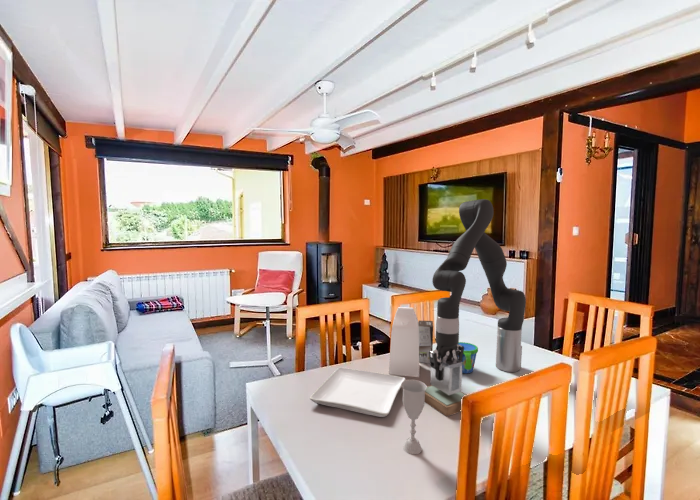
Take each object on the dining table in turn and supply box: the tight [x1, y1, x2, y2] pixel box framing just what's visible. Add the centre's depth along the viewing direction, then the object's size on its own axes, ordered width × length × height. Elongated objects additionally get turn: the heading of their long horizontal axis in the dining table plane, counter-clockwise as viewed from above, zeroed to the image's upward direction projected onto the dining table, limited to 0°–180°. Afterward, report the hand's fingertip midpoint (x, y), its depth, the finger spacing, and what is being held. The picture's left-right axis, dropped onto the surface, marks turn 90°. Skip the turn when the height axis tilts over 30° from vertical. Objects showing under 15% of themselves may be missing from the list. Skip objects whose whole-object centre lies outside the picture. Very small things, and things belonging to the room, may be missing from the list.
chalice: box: [401, 379, 428, 455], centre depth 103 cm, size 7×7×18 cm
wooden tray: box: [425, 385, 468, 418], centre depth 129 cm, size 12×14×3 cm
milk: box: [388, 306, 420, 378], centre depth 154 cm, size 12×12×26 cm
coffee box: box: [418, 320, 434, 364], centre depth 166 cm, size 9×6×16 cm
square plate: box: [309, 366, 406, 418], centre depth 134 cm, size 27×27×4 cm
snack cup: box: [458, 341, 479, 374], centre depth 155 cm, size 16×10×10 cm
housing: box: [429, 358, 463, 395], centre depth 128 cm, size 6×9×10 cm, turn 29°
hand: (445, 377), depth 128 cm, fingers closed on housing, 5 cm apart
